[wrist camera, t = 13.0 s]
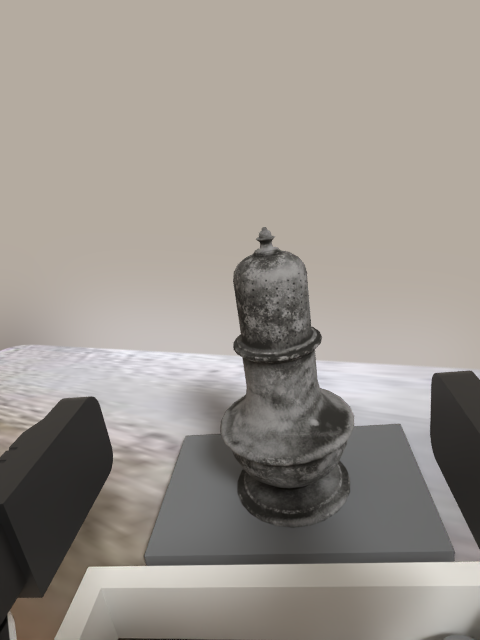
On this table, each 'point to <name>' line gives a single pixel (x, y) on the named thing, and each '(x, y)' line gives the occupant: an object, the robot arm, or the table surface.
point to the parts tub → (278, 602)
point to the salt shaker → (284, 399)
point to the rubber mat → (309, 541)
